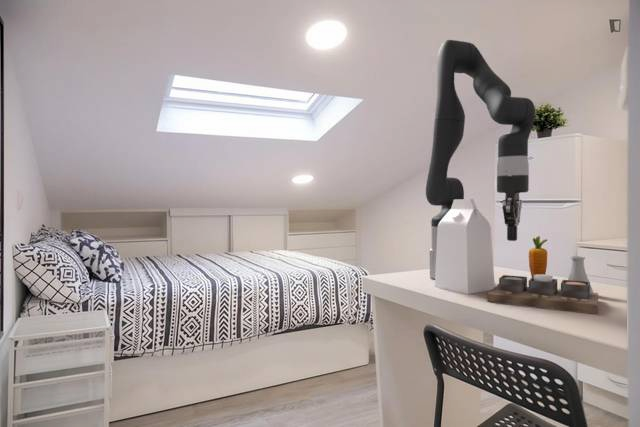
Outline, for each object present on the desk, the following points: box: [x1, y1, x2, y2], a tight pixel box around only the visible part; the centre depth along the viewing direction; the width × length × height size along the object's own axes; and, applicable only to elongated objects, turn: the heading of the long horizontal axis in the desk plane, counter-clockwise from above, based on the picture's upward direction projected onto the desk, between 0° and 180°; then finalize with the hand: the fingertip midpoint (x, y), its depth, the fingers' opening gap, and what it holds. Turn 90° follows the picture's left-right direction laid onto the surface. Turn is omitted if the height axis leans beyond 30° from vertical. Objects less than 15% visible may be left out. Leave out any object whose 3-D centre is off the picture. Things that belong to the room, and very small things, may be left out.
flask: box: [567, 255, 595, 293], centre depth 110 cm, size 7×7×10 cm
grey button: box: [534, 274, 554, 283], centre depth 104 cm, size 4×4×2 cm
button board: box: [486, 274, 599, 315], centre depth 103 cm, size 23×14×5 cm, turn 55°
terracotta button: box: [566, 282, 586, 285], centre depth 100 cm, size 4×4×2 cm
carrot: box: [528, 235, 548, 278], centre depth 119 cm, size 5×5×15 cm
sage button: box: [504, 277, 522, 280], centre depth 108 cm, size 4×4×2 cm
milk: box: [434, 198, 496, 295], centre depth 120 cm, size 12×12×26 cm
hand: (512, 240), depth 108 cm, fingers closed
